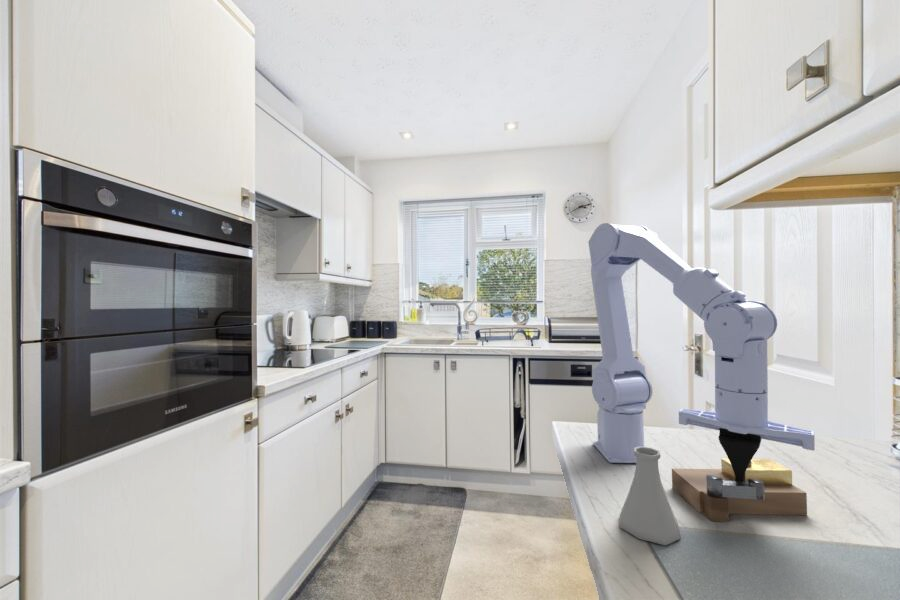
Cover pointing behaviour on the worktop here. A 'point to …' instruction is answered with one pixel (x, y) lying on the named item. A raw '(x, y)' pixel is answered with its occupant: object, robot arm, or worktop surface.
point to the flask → (648, 502)
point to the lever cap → (761, 471)
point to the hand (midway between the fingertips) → (741, 486)
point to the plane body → (718, 509)
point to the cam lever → (735, 488)
